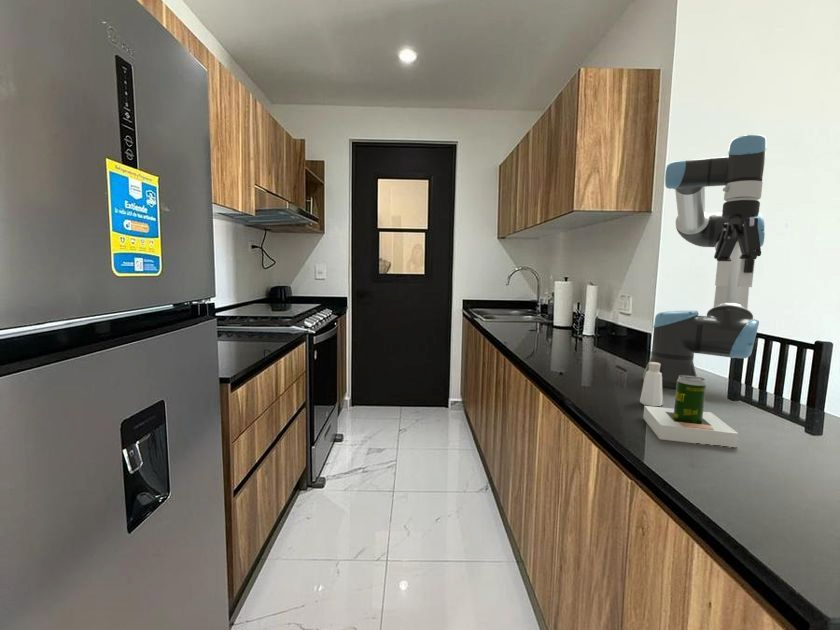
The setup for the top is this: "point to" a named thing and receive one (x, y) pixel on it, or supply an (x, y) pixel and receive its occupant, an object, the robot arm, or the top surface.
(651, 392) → the salt shaker
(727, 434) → the socket block
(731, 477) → the top surface
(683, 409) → the beer can
